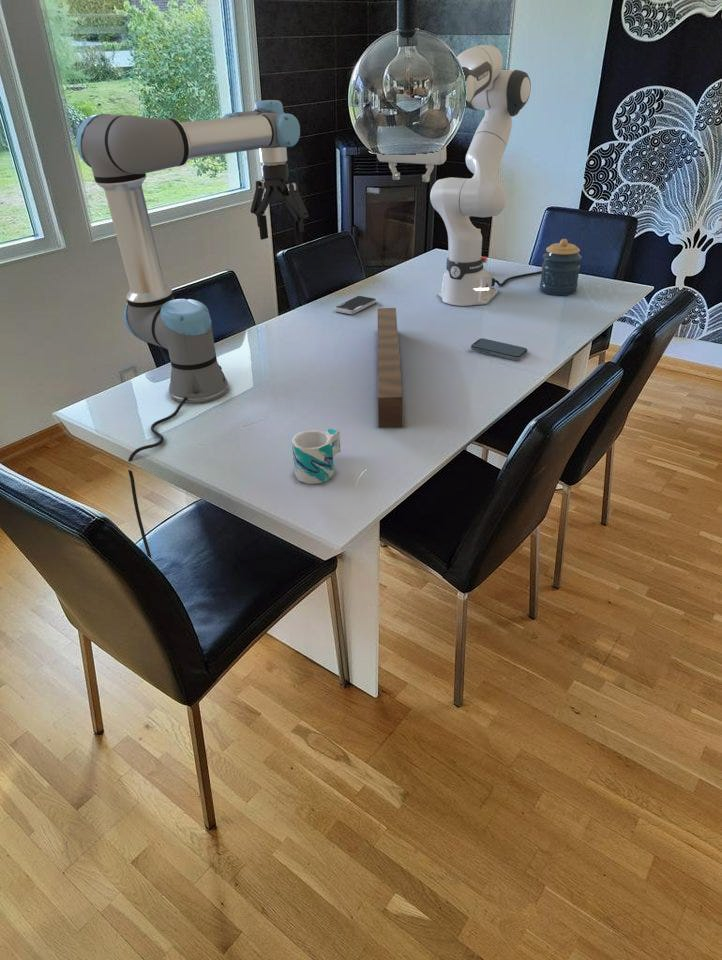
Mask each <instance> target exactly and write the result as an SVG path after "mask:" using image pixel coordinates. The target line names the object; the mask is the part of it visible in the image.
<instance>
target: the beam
mask: <svg viewBox="0 0 722 960" xmlns="http://www.w3.org/2000/svg"><path fill="white" fill-rule="evenodd" d="M398 331H399V330H398V320H397V308H396V307H378V308H377V412H378V413H377V415H378V416H377V419H378V428H403V386H402V374H401V373H402V372H401V358H400V346H399V345H400V344H399V332H398Z"/></svg>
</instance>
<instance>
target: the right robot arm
mask: <svg viewBox="0 0 722 960" xmlns="http://www.w3.org/2000/svg"><path fill="white" fill-rule="evenodd" d="M456 58H458V60H459V62H460V64H461V66H462V69H463V72H464V75H465V81H466V88H467V100H466V107H465V109H469V110H474V111H477V110H480V111H484V116H483V118H482V119H481V121H480V122H479V124H478V126H477V128H476V130H475V132H474V135H473V137H472V139H471V142H470V144H469V147H468V149H467V152H466V154H465V165H466V167H467V170H469V172H471V173H472V174H473V175H472V177H471V178H466V177H465V178H464V177H445V178H440V179H437V180H436V181H435V182H434V184H433V185H432V187H431V189H430V193H429V198H430V205H431V206H432V208H433V209H434V210H435V211H436V212H437V213H438V214H439V216H440V217H441V219H442V221H443V223H444V226H445V229H446V232H447V242H448V243H447V244H448V245H447V247H448V249H447V250H448V252H447V258H446V263H445V265H446V267H445V268H446V271H445V272H444V273H443V277H442V286H441V291H440V292H439V293H438V297H440V298H441V301H442V302H444V303H445V304H448V305H452V306H456V307H457V306H458V307H459V306H460V307H469V306H477V305H482V306H483V305H488V304H489V303H490V302H491V301H492V300H493V298H495V296H497V294H499V289H497V288H495V286H496V284H497V286H498V287H504V285H505V284H507V283H508V281H511V280H515V279H519V278H524V277H529V276H536V275H541V273H542V270H539V271H534V272H527V273H523V274H518V275H514V276H510V277H507V278H506V279H504V280H503V282H500V280H497V279H496V278H494V277H492V276H491V274H489V273H488V271H486V270H485V269H484V264H486V263H487V261H488V257H487V256H482V251H483V249H482V248H483V235H482V233H481V232H480V231H479V230H478V229H479V228H477V227H476V226H475V225H473V223H472V221H471V219H470V217H469V216H472V217H475V218H491V217H497V216H499V215H500V214H501V213H502V211H503V210H504V208H505V206H506V204H507V191H506V189H505V186H504V185H503V184H502V183H501V181H500V179H499V167H500V165H501V161H502V158H503V156H504V153H505V151H506V148H507V145H508V143H509V138H510V136H511V132H512V126H513V117H516V116H517V115H518V114H519V113H520V110H522V109H523V108H524V107H525V106H526V104H527V102H528V101H529V99H530V95H531V90H532V89H531V88H532V87H531V86H532V84H531V83H532V82H531V78H530V76H529V74H528V73H527V72H525V71H523V70H520V69H514V70H511V69H503V67H504V66H503V65H504V58H503V55H502V53H501V51H500V49H498V47H496V46H494V45H490V44H481V45H476V46H472V47H470V48H468V49H465V50H463V51H462V52H460V53H459V54H458V55H457V56H456ZM465 109H464V110H465ZM376 158H377V160H378V161H379V162H380V163H388V168H389V170H390V172H391V174H392V181H399V180H401V172H398V170H397V167H396V166H398V164H416V165H417V164H418V165H425V169H426V172H425V174H422V175H421V178H422V179H421V181H422V183H429V182H430V181H431V180H430V179H431V174H432V172H433V170H434V168H435V165H436V166H440V165H443V164H444V163H445V162H446V161H447V146H446V147H445V148H444V149H442V150H440V151H438V152H434V153H427V154H416V155H382V154H377V153H376Z"/></svg>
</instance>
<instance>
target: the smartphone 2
mask: <svg viewBox="0 0 722 960" xmlns="http://www.w3.org/2000/svg"><path fill="white" fill-rule="evenodd" d="M470 350H472V351H475V352H478V353H482V354H483V353H484V354H488V355H491V356H495V357H500V358H504V359H509V360H513V361H519V360H520V359H522V358H523V357H524V356H525V355H526V354H528V348H527V347H524V346H519V345H515V344H511V343H506V342H501V341H497V340H493V339H488V338H484V337H483V338H481V337H480V338H478V339H477V340H476V341H474V342H473V343H472V344H471V345H470Z"/></svg>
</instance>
